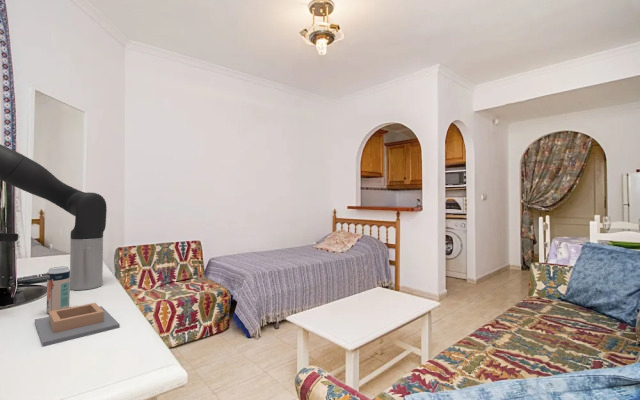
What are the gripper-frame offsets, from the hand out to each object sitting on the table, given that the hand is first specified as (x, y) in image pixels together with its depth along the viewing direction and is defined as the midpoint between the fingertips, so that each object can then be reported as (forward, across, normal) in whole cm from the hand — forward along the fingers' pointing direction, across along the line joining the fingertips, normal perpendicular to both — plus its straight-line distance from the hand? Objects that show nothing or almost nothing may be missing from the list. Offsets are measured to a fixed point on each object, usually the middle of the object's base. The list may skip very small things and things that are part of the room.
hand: (8, 238), depth 82 cm
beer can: (+12, 0, +20) cm, 23 cm away
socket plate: (+20, -13, +19) cm, 31 cm away
